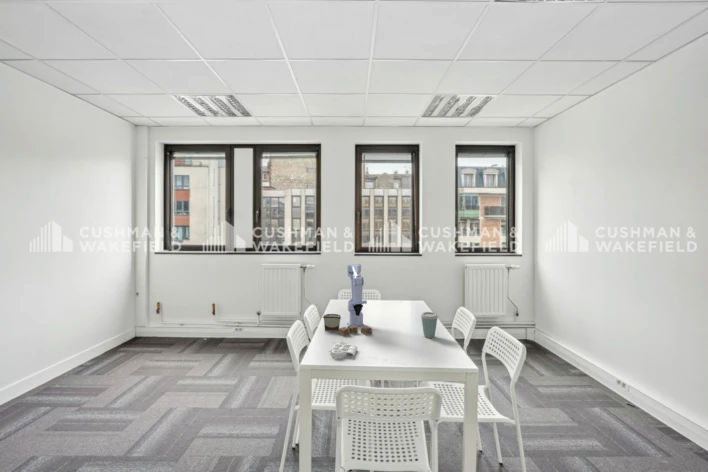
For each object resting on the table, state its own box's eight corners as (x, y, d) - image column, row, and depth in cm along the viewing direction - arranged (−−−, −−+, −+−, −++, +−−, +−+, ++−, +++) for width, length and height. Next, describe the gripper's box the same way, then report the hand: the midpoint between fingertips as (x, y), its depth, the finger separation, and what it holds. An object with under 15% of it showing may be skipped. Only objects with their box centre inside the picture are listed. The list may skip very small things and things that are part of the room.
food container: (342, 328, 231) (342, 314, 231) (340, 331, 225) (341, 316, 225) (324, 327, 232) (324, 313, 232) (322, 330, 226) (322, 315, 226)
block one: (366, 332, 225) (366, 325, 225) (371, 333, 221) (371, 327, 221) (360, 333, 222) (361, 327, 222) (366, 335, 218) (366, 329, 218)
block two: (344, 333, 222) (345, 326, 222) (349, 335, 218) (349, 328, 218) (338, 334, 219) (339, 328, 219) (343, 336, 215) (343, 330, 215)
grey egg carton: (352, 361, 176) (325, 358, 179) (358, 349, 194) (333, 346, 197) (352, 354, 176) (325, 352, 179) (358, 343, 194) (333, 341, 197)
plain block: (353, 331, 227) (353, 325, 227) (357, 333, 223) (357, 326, 223) (347, 332, 224) (347, 326, 223) (351, 334, 220) (352, 328, 219)
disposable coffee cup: (437, 340, 212) (438, 316, 211) (420, 338, 214) (420, 315, 214) (436, 334, 222) (437, 312, 222) (420, 333, 224) (420, 311, 224)
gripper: (353, 297, 219) (353, 318, 219) (370, 295, 228) (369, 315, 228) (346, 295, 224) (346, 316, 224) (363, 293, 233) (362, 313, 233)
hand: (357, 315), depth 226 cm, fingers closed
